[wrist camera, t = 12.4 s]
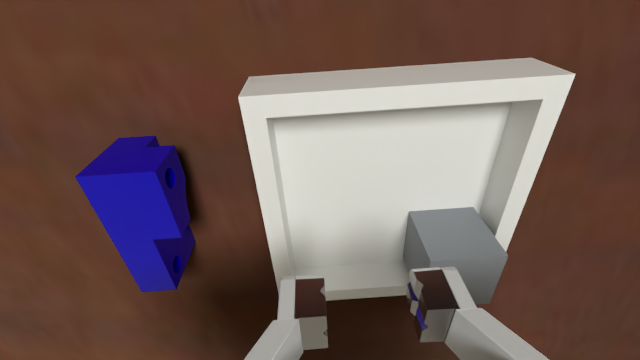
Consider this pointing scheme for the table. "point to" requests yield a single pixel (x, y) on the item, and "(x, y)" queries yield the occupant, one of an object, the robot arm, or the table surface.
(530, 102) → the tray
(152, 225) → the cable holder
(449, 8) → the table surface
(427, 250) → the block
